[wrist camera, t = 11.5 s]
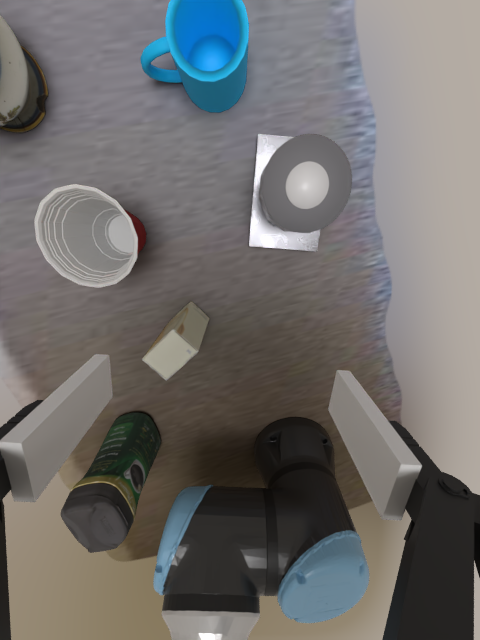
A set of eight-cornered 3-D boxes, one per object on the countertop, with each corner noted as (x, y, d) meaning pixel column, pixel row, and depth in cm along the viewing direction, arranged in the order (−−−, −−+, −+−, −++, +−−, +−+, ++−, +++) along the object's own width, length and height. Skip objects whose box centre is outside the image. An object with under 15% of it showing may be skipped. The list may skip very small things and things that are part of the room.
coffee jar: (109, 415, 51) (42, 514, 34) (149, 406, 50) (101, 502, 33) (129, 454, 54) (77, 564, 37) (166, 446, 54) (132, 554, 36)
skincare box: (191, 299, 44) (174, 326, 32) (210, 318, 45) (201, 350, 33) (164, 325, 45) (139, 360, 34) (184, 343, 46) (166, 382, 35)
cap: (345, 149, 30) (361, 137, 26) (330, 235, 33) (342, 236, 30) (263, 141, 30) (267, 128, 26) (255, 228, 33) (258, 229, 29)
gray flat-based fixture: (314, 250, 41) (338, 258, 31) (248, 245, 41) (251, 251, 31) (331, 144, 37) (365, 114, 27) (257, 137, 36) (264, 104, 27)
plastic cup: (116, 283, 43) (72, 303, 32) (76, 215, 40) (11, 211, 28) (177, 254, 41) (154, 265, 30) (141, 182, 38) (100, 164, 27)
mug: (242, 27, 33) (243, -34, 25) (250, 107, 35) (253, 75, 28) (144, 43, 33) (116, -12, 26) (160, 122, 36) (138, 93, 28)
